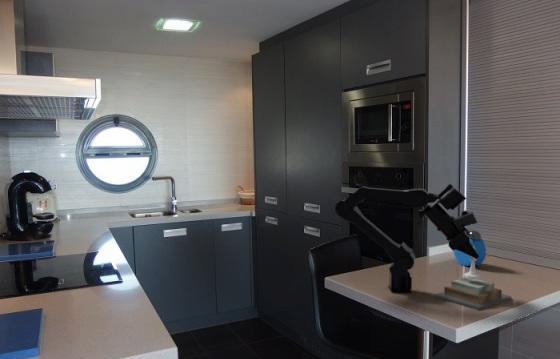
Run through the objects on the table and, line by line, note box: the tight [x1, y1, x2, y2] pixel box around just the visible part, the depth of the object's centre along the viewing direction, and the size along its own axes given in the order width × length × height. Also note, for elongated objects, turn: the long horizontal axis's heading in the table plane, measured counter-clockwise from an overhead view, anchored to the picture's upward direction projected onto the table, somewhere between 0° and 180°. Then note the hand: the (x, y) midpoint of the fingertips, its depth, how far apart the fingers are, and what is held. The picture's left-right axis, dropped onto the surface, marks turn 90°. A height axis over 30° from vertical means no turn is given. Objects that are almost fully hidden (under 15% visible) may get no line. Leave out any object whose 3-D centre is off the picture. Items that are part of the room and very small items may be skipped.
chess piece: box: [463, 246, 482, 280], centre depth 138 cm, size 5×5×10 cm
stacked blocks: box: [443, 277, 503, 304], centre depth 138 cm, size 12×12×4 cm
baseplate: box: [433, 291, 512, 311], centre depth 138 cm, size 18×15×1 cm
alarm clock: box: [453, 229, 487, 268], centre depth 179 cm, size 13×6×15 cm, turn 15°
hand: (477, 256), depth 137 cm, fingers closed on chess piece
